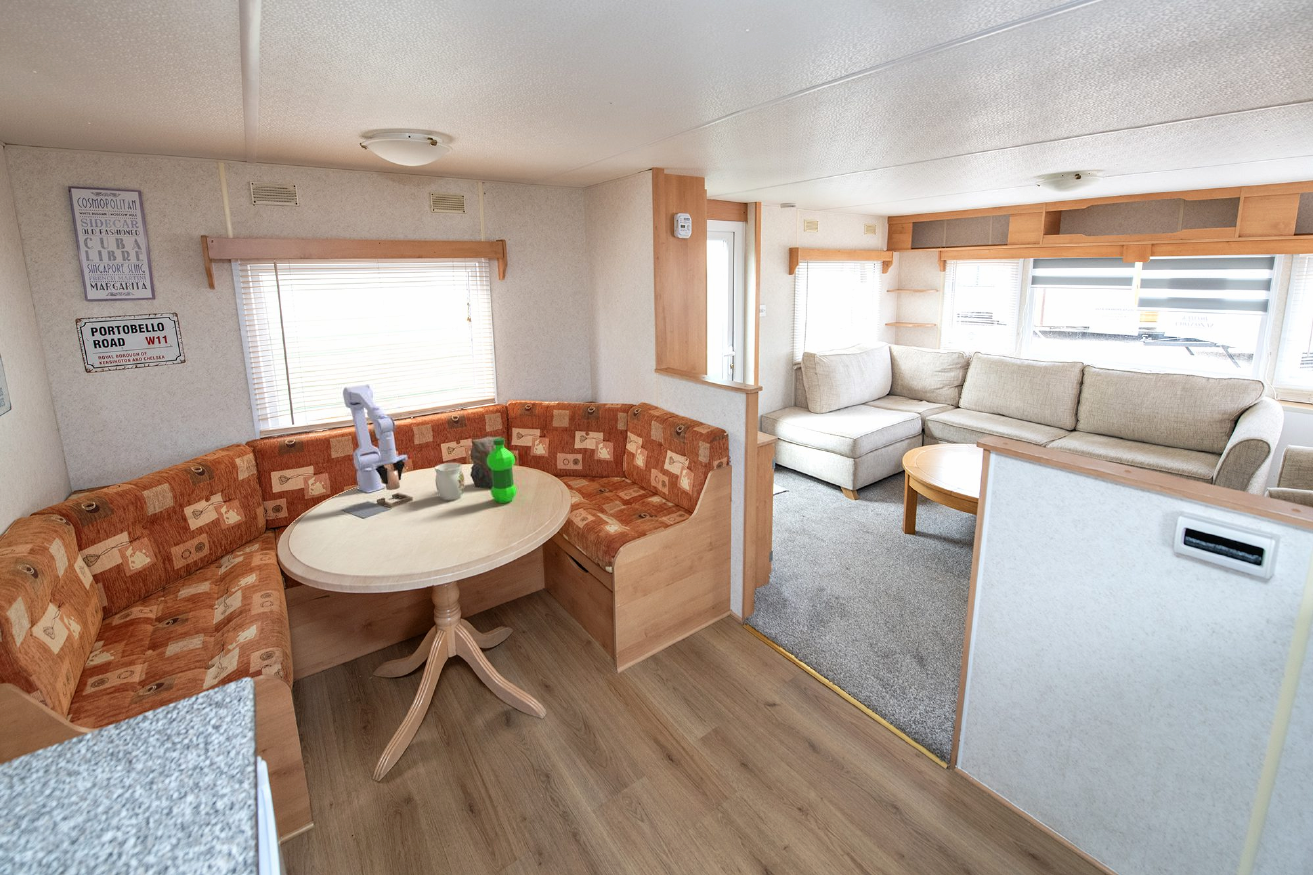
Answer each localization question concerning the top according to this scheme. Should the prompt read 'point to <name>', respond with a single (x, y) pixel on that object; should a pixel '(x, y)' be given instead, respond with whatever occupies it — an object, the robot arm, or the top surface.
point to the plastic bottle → (502, 472)
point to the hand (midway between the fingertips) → (392, 481)
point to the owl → (482, 462)
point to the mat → (365, 509)
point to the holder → (404, 500)
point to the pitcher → (450, 480)
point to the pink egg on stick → (392, 479)
